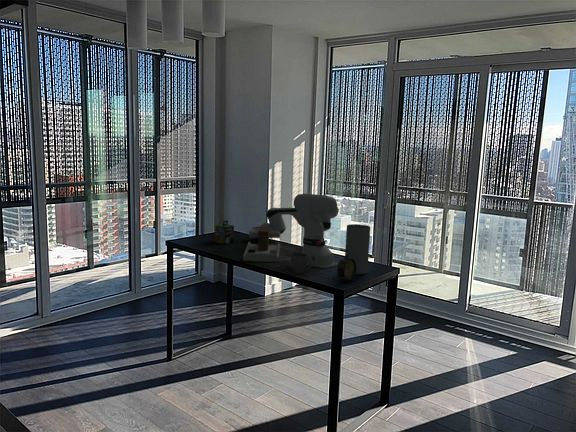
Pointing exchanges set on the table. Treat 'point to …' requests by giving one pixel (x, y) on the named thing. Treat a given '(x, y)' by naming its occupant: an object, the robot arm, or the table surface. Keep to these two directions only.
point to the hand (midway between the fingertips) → (264, 236)
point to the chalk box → (224, 233)
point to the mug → (300, 262)
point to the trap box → (261, 253)
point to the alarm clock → (346, 268)
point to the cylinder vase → (358, 246)
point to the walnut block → (263, 238)
